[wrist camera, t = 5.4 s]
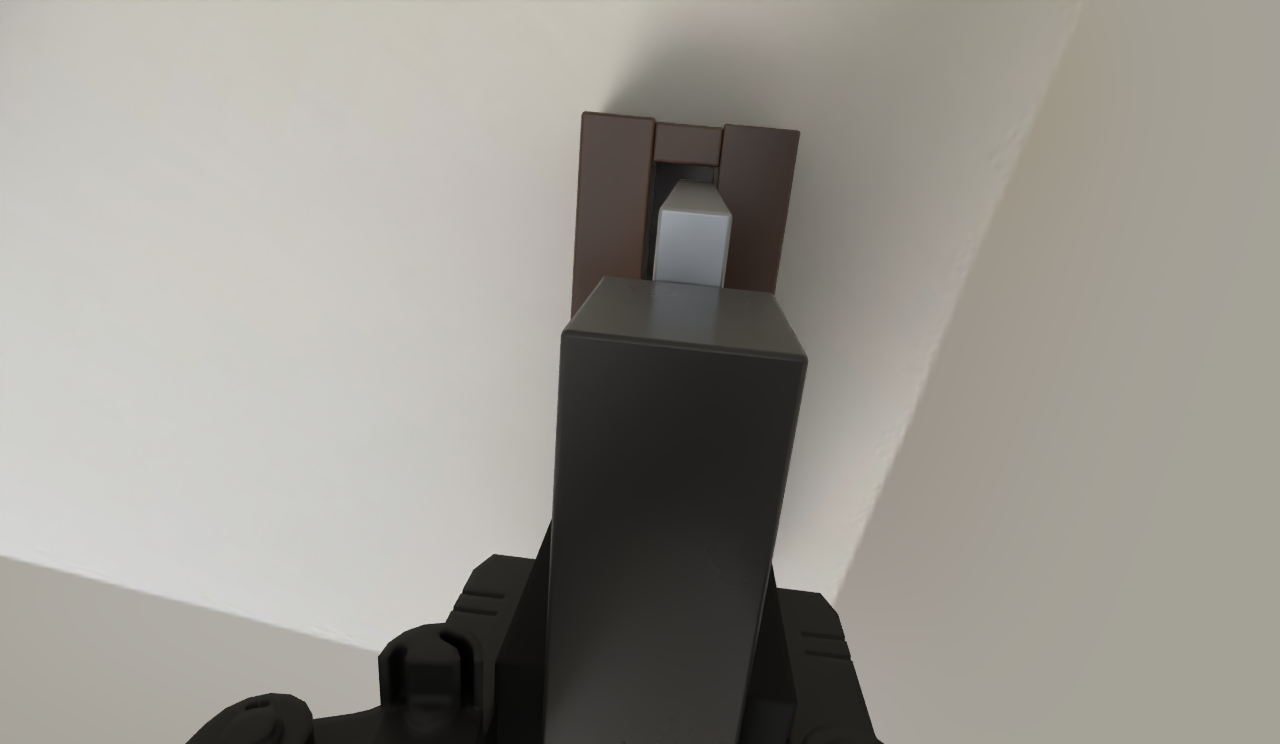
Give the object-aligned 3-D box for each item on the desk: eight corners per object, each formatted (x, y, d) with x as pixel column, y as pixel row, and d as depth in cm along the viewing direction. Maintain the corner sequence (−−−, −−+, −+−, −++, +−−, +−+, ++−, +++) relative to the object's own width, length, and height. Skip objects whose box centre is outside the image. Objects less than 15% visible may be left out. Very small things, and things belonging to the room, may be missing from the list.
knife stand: (784, 133, 20) (800, 130, 17) (714, 593, 25) (718, 650, 22) (596, 116, 20) (581, 110, 17) (568, 576, 25) (553, 629, 23)
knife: (738, 184, 18) (830, 250, 6) (684, 596, 23) (669, 1123, 10) (653, 176, 18) (564, 224, 6) (616, 588, 23) (523, 1098, 10)
